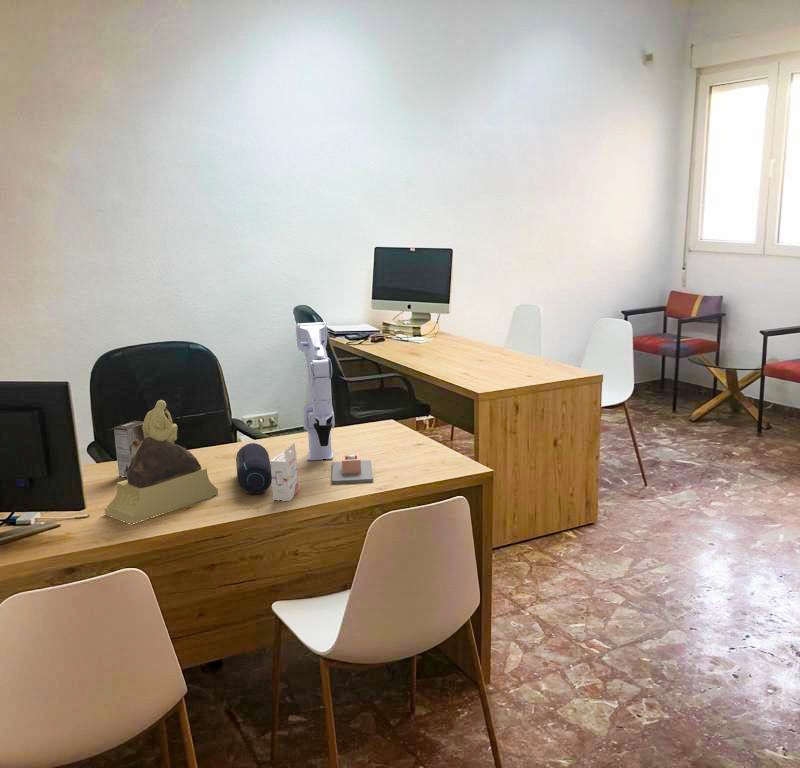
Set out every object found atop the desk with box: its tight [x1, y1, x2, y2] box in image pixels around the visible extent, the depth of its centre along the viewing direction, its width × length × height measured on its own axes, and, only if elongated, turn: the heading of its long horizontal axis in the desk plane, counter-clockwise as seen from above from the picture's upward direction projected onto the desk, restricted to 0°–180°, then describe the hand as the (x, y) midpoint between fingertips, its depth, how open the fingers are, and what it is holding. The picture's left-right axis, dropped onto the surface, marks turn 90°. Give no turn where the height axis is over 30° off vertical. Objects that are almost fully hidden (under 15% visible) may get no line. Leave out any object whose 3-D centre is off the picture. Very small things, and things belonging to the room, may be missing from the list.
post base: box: [331, 454, 374, 485], centre depth 252 cm, size 18×12×6 cm, turn 4°
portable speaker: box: [235, 442, 272, 495], centre depth 246 cm, size 25×10×10 cm, turn 12°
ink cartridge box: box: [270, 442, 300, 502], centre depth 233 cm, size 9×5×15 cm, turn 168°
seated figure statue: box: [103, 399, 219, 525], centre depth 228 cm, size 28×13×30 cm, turn 140°
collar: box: [341, 454, 362, 474], centre depth 252 cm, size 6×6×4 cm
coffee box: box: [112, 420, 149, 477], centre depth 257 cm, size 9×6×16 cm
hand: (324, 442), depth 253 cm, fingers open, 7 cm apart
